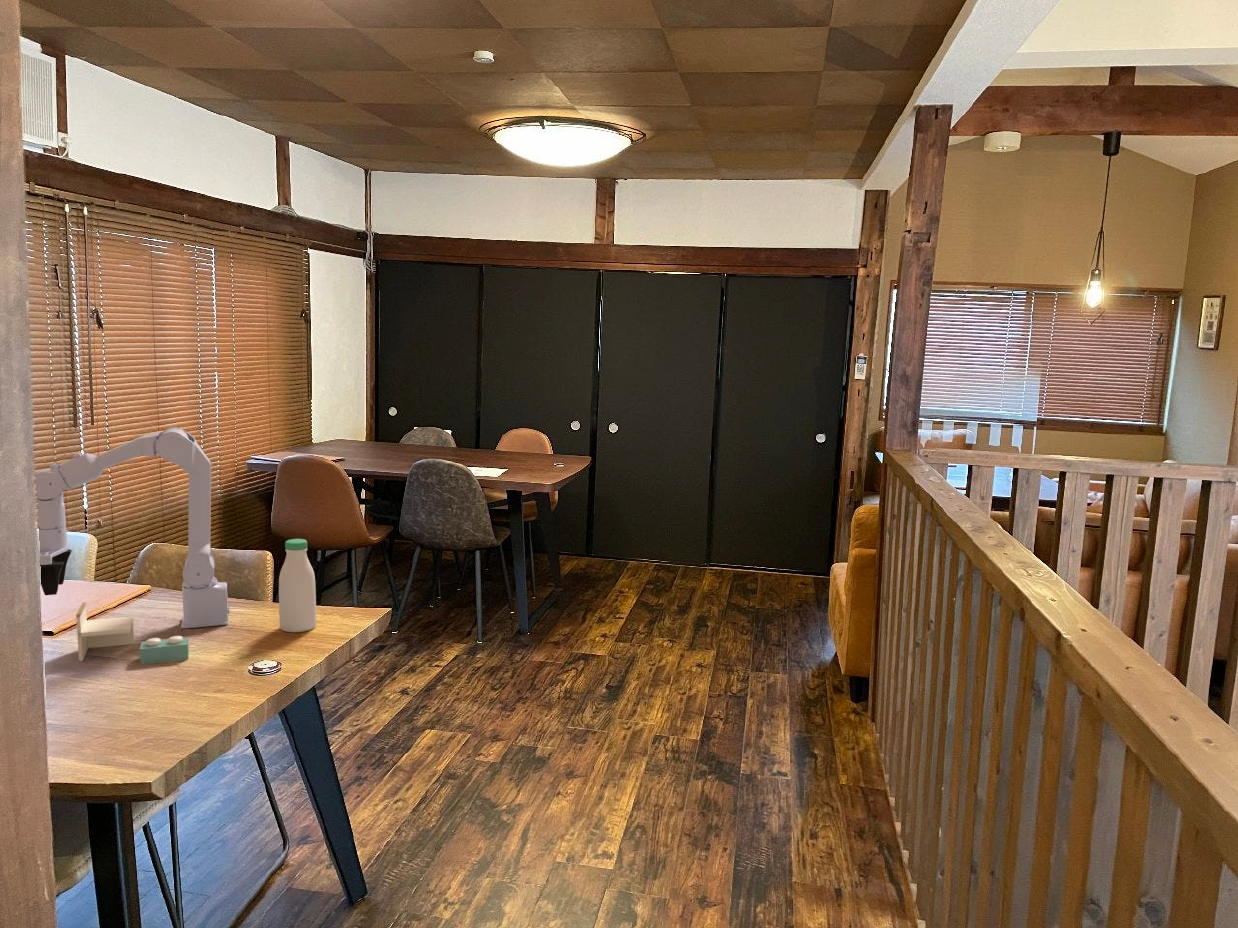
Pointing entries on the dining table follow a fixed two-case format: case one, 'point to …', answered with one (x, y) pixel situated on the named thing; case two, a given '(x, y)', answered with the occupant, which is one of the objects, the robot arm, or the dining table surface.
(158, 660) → the teal block
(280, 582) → the milk bottle
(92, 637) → the beige flanged peg
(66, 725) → the dining table surface
